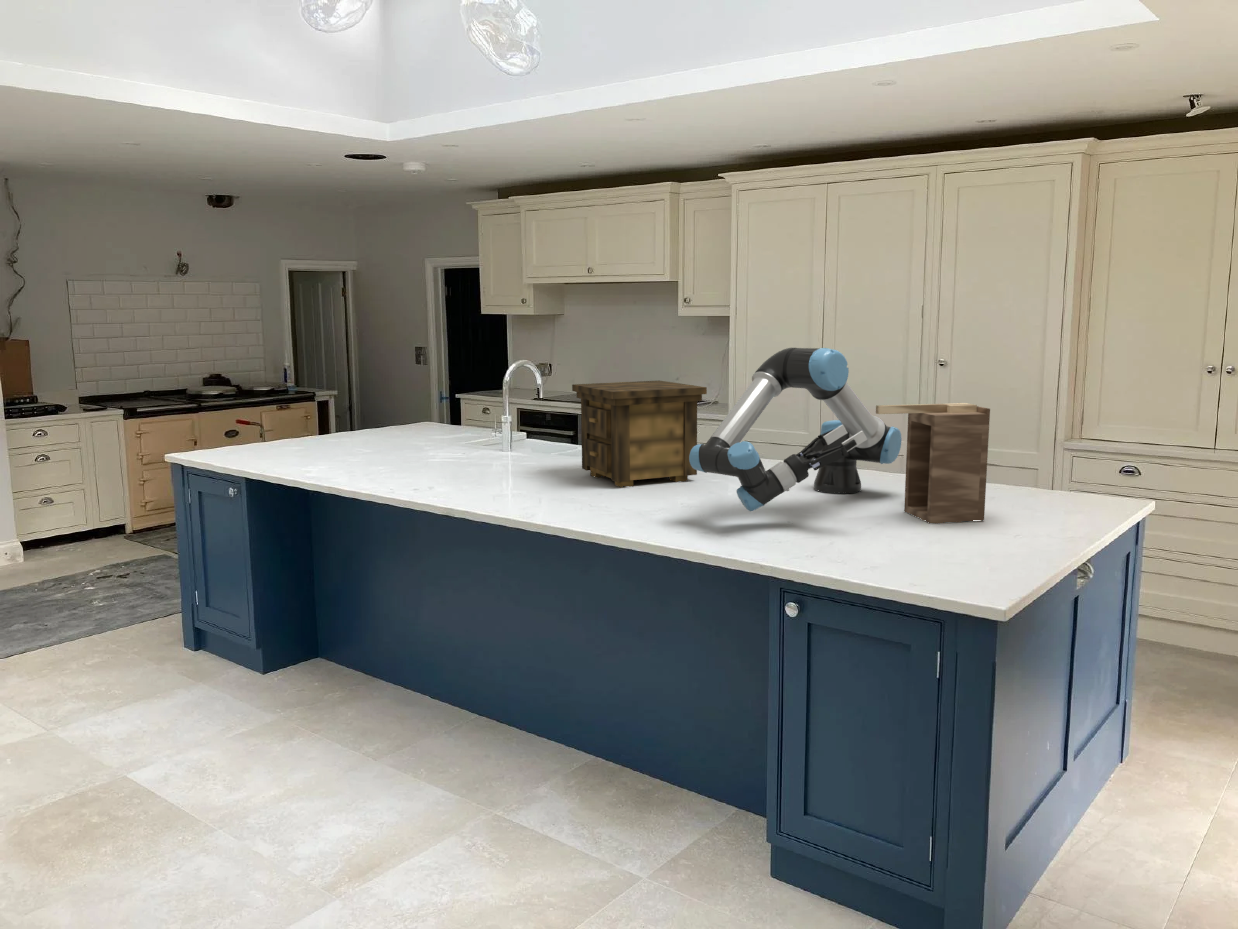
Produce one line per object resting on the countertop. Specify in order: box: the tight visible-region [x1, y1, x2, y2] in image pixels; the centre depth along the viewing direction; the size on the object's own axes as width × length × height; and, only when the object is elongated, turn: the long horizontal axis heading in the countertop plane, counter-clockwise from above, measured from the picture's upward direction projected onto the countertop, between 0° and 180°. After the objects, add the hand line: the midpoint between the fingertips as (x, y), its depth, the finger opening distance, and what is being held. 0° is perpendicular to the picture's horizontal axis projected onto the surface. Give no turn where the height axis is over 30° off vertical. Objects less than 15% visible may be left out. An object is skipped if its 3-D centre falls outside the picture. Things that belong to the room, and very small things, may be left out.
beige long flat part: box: [875, 402, 978, 415], centre depth 267 cm, size 6×28×2 cm, turn 99°
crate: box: [571, 380, 708, 488], centre depth 336 cm, size 35×35×33 cm
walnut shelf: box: [903, 405, 991, 524], centre depth 271 cm, size 16×16×32 cm
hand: (854, 431), depth 264 cm, fingers open, 13 cm apart
